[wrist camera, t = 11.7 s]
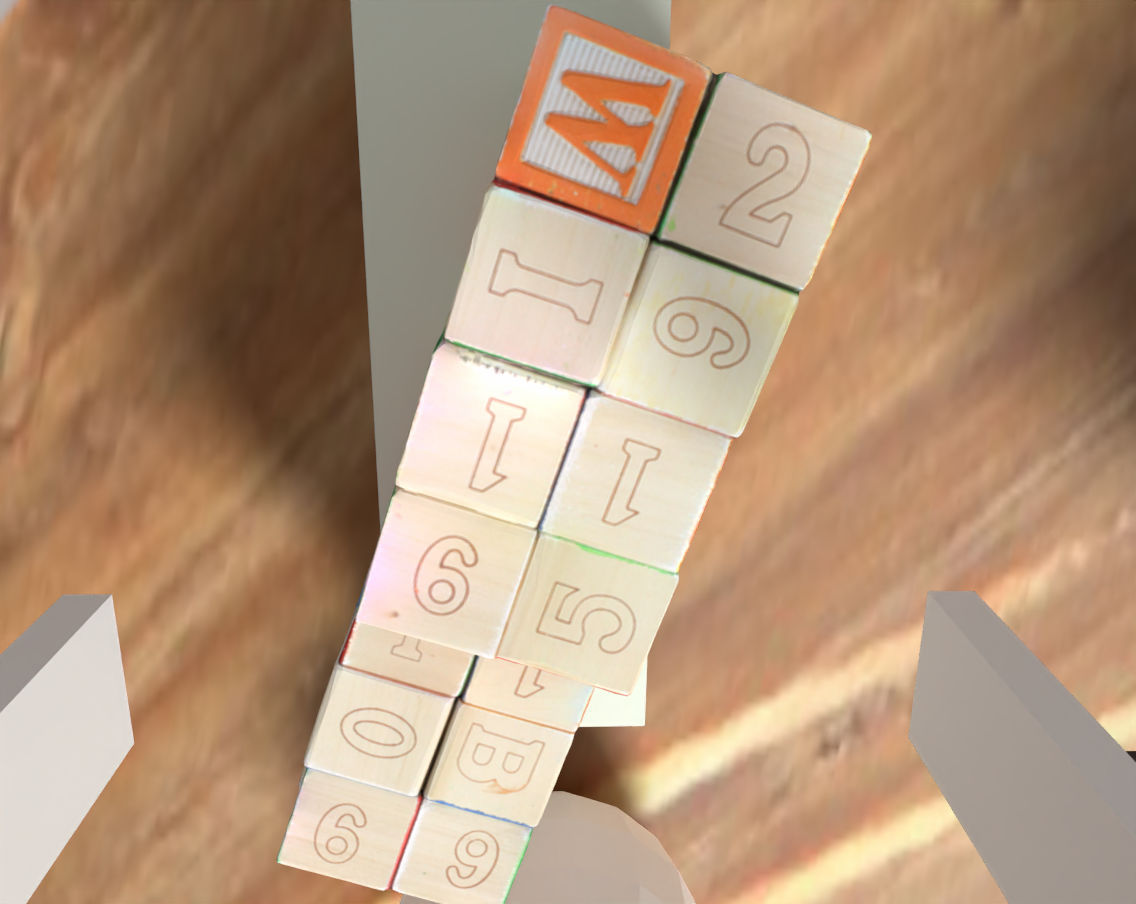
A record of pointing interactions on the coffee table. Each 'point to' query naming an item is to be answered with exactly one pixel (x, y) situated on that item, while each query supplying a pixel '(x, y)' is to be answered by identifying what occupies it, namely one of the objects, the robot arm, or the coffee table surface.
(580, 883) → the cup
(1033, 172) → the coffee table surface
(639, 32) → the plinth
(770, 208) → the stack of blocks
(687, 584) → the coffee table surface
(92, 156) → the coffee table surface
